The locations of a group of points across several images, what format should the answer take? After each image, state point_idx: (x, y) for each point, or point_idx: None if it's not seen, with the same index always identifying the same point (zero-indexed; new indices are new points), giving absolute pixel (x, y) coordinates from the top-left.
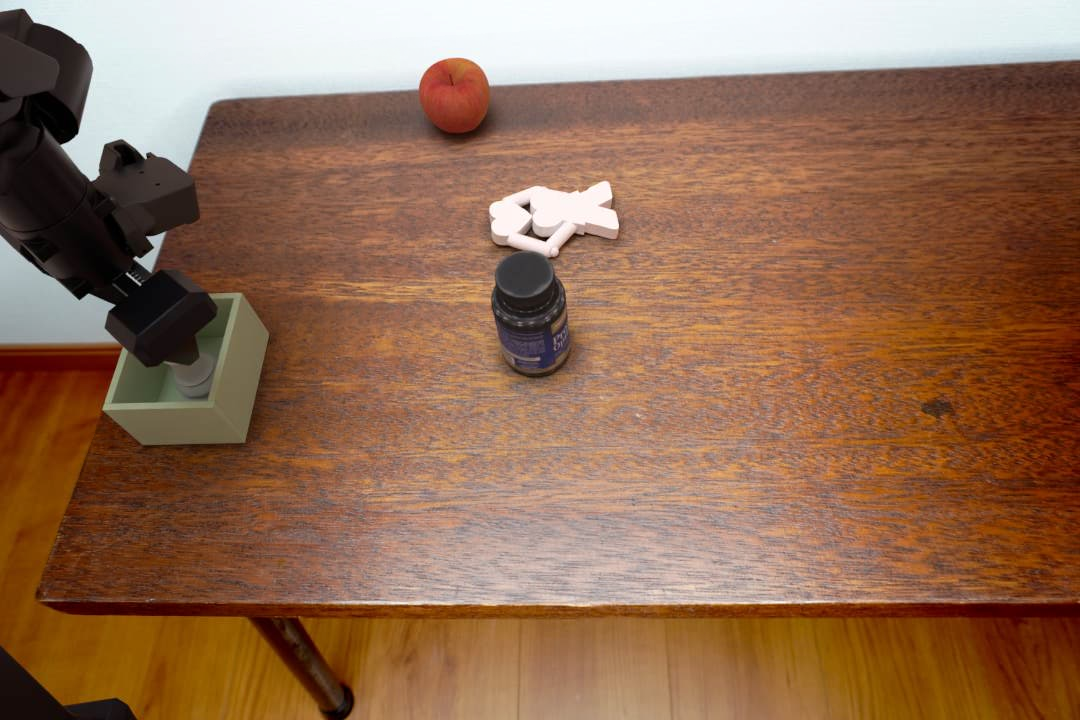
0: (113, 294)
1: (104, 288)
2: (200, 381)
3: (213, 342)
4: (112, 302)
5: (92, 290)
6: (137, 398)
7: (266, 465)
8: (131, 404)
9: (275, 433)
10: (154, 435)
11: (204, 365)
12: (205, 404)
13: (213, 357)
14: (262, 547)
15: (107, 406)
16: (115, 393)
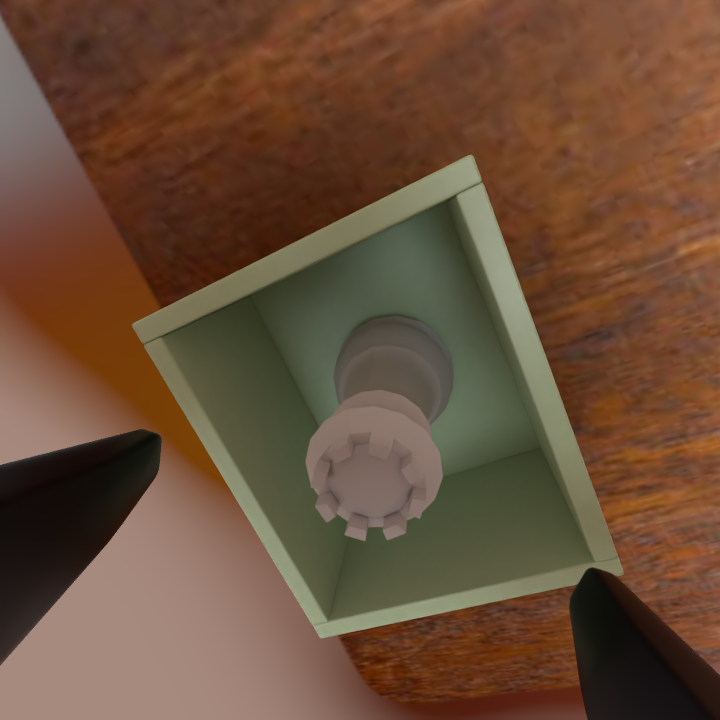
0: (101, 520)
1: (51, 567)
2: (431, 419)
3: (340, 269)
4: (122, 520)
5: (19, 630)
6: None
7: (629, 472)
8: (381, 614)
9: (613, 408)
10: None
11: (428, 393)
12: None
13: (405, 336)
14: (700, 599)
15: (326, 629)
16: (314, 593)
